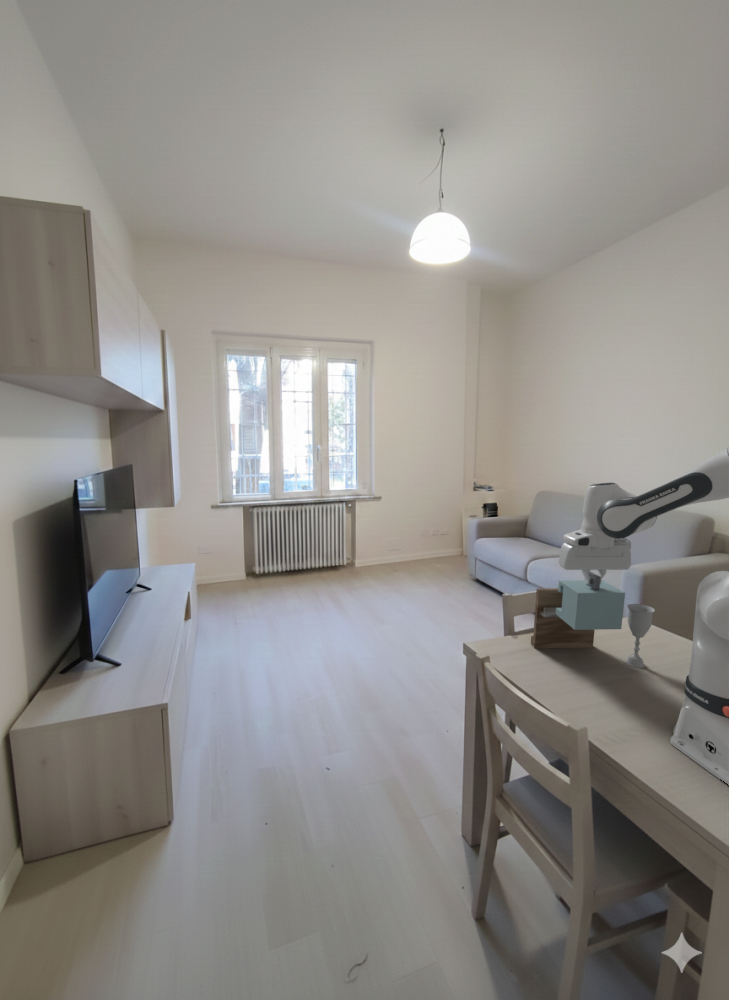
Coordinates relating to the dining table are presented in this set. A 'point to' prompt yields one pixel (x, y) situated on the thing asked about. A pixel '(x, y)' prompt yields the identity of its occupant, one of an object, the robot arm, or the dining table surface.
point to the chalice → (638, 629)
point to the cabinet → (591, 604)
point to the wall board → (555, 624)
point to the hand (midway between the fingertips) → (592, 583)
